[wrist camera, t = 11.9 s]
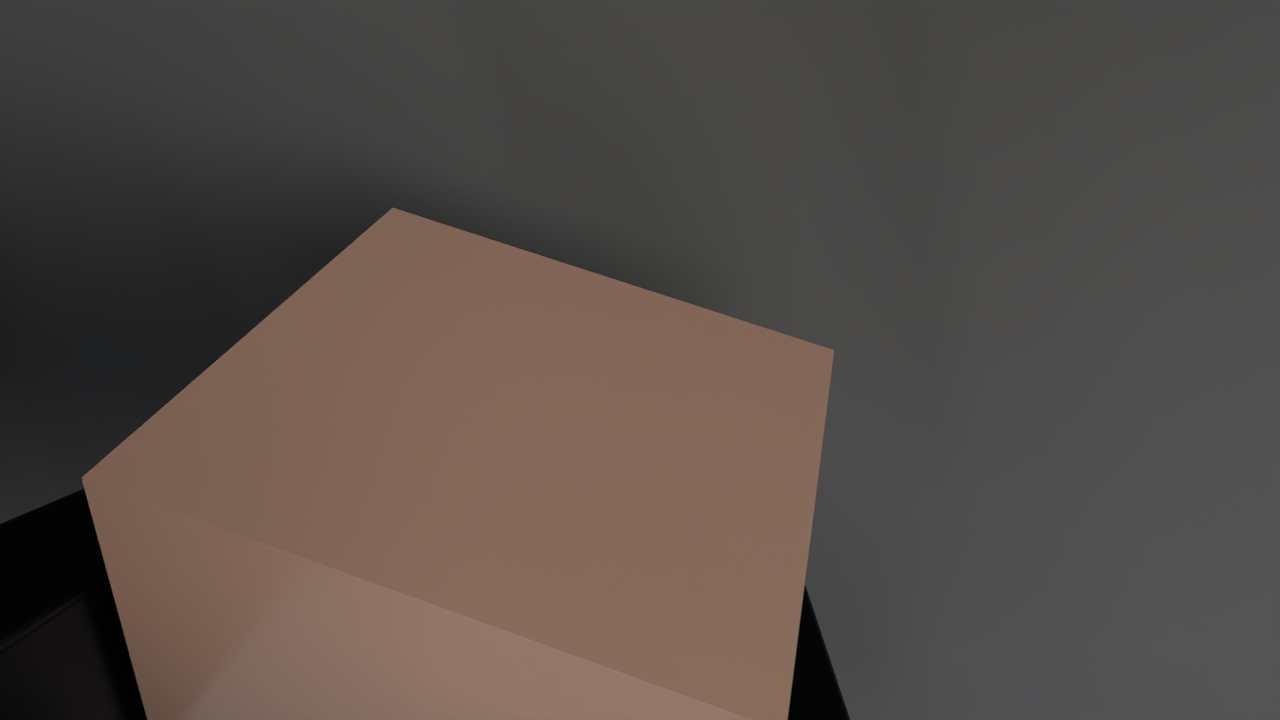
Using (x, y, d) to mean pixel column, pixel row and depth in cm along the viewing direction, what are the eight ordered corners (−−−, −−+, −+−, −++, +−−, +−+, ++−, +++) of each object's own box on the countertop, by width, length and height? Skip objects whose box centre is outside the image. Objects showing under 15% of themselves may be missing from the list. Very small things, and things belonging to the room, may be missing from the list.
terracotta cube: (382, 511, 11) (171, 810, 8) (392, 208, 8) (80, 479, 5) (711, 628, 11) (630, 989, 8) (834, 350, 8) (785, 732, 5)
